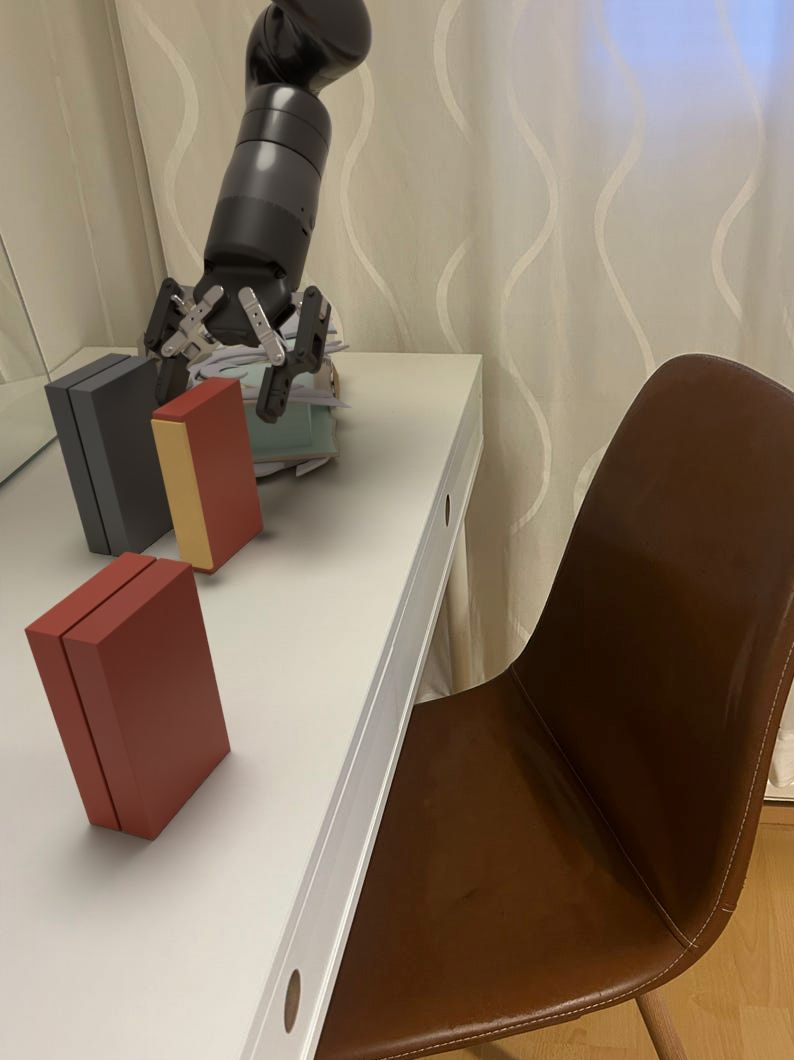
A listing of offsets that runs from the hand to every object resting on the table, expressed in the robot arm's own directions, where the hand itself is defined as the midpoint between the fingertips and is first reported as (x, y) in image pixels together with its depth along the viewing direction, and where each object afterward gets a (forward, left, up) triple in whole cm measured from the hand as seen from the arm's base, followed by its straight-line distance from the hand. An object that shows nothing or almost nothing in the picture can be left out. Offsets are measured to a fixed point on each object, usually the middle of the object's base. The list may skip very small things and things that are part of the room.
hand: (215, 414), depth 74 cm
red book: (0, -1, -11) cm, 11 cm away
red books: (+18, -23, -11) cm, 31 cm away
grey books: (-8, -3, -11) cm, 14 cm away
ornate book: (-17, +18, -11) cm, 27 cm away
